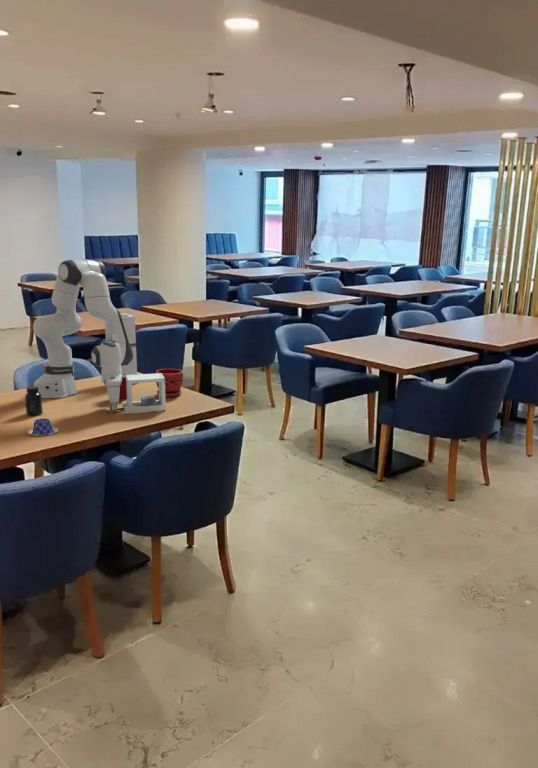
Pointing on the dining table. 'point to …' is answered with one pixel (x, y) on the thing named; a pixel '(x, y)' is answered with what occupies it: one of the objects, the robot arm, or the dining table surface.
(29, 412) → the supplement bottle
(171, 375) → the plant pot
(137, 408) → the shelf
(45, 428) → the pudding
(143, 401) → the grey mallet
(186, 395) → the dining table surface
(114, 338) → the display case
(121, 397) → the plastic cup
